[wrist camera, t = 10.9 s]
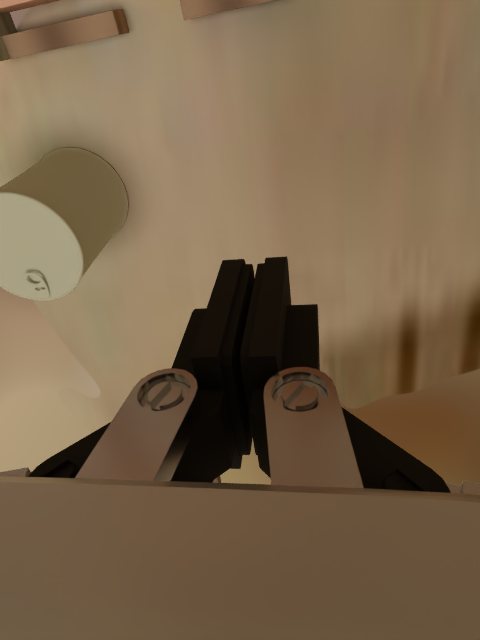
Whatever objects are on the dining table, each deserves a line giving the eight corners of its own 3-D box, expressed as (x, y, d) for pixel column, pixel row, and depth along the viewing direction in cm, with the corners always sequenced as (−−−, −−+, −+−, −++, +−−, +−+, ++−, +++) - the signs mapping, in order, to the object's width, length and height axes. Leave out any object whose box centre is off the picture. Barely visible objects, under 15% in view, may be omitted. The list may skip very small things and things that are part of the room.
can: (57, 245, 47) (-4, 310, 38) (17, 155, 42) (-66, 204, 32) (140, 234, 46) (99, 299, 36) (109, 139, 40) (50, 185, 31)
